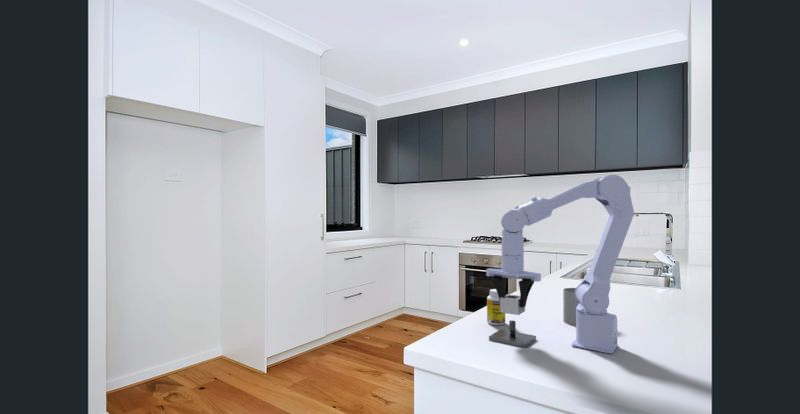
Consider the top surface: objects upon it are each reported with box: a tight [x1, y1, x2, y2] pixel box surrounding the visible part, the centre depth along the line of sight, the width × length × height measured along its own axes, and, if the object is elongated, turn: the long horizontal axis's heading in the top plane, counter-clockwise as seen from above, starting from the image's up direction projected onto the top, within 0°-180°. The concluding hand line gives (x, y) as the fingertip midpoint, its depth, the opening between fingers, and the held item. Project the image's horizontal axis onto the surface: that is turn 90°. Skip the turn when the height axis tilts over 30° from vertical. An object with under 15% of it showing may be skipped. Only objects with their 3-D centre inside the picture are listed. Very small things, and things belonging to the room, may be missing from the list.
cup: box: [562, 287, 579, 327], centre depth 123 cm, size 8×8×10 cm
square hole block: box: [500, 294, 526, 316], centre depth 107 cm, size 5×5×4 cm
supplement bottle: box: [486, 288, 506, 326], centre depth 123 cm, size 6×6×10 cm
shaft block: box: [488, 320, 537, 349], centre depth 107 cm, size 10×8×5 cm
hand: (512, 305), depth 107 cm, fingers closed on square hole block, 5 cm apart
